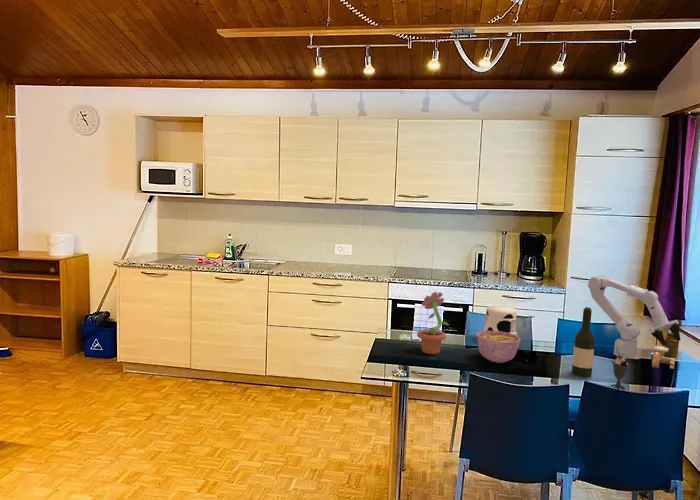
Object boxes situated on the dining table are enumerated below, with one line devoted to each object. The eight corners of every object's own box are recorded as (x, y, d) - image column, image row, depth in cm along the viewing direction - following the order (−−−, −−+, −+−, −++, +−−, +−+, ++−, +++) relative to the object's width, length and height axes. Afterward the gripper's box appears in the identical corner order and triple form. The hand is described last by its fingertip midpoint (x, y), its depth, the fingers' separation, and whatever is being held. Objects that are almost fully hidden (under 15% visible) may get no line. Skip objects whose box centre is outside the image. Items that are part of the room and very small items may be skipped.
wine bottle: (567, 371, 239) (573, 305, 236) (585, 371, 240) (591, 305, 237) (577, 377, 231) (583, 309, 228) (595, 378, 232) (602, 310, 229)
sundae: (610, 382, 227) (614, 348, 225) (628, 386, 223) (631, 351, 221) (607, 387, 221) (611, 351, 219) (625, 391, 217) (629, 355, 216)
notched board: (673, 368, 250) (674, 363, 250) (654, 365, 254) (654, 360, 254) (674, 363, 259) (674, 358, 258) (655, 360, 263) (655, 355, 262)
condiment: (680, 357, 269) (683, 334, 268) (672, 360, 265) (675, 336, 263) (665, 353, 275) (668, 331, 274) (657, 355, 271) (659, 332, 269)
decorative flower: (438, 347, 268) (442, 288, 264) (452, 355, 255) (456, 293, 251) (411, 348, 263) (415, 288, 260) (424, 357, 250) (427, 294, 247)
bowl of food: (521, 358, 255) (523, 334, 254) (515, 370, 237) (517, 344, 236) (479, 351, 264) (481, 328, 263) (470, 362, 246) (472, 337, 244)
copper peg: (654, 368, 250) (655, 353, 249) (650, 366, 253) (651, 351, 252) (660, 368, 250) (661, 353, 249) (656, 366, 253) (658, 351, 252)
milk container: (480, 336, 292) (483, 304, 290) (513, 339, 290) (516, 306, 288) (484, 345, 275) (486, 311, 273) (518, 348, 273) (521, 313, 271)
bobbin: (657, 361, 261) (659, 349, 260) (650, 357, 267) (651, 345, 266) (669, 361, 261) (671, 349, 261) (662, 357, 267) (663, 346, 267)
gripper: (650, 318, 250) (664, 346, 247) (677, 309, 253) (690, 337, 249) (641, 321, 257) (654, 348, 253) (667, 312, 259) (680, 339, 256)
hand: (671, 343), depth 252 cm, fingers open, 7 cm apart
